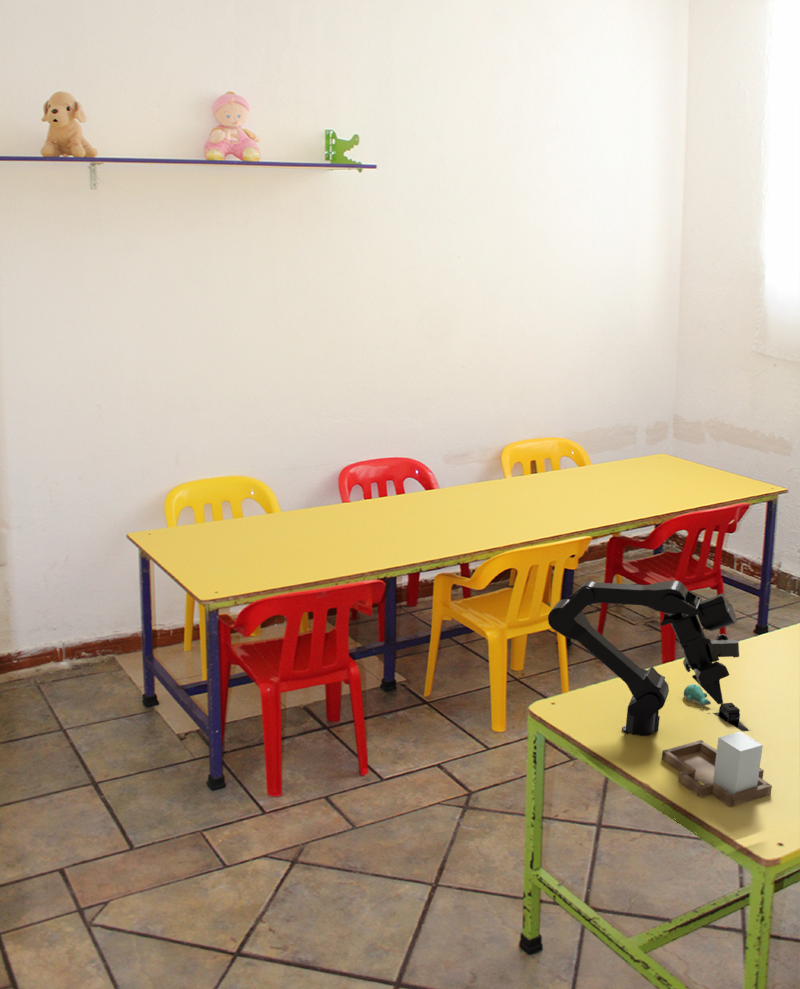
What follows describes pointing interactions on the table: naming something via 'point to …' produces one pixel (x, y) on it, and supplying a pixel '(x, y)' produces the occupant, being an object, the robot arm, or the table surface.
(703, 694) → the whale figurine
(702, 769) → the brown compartment tray
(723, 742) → the block
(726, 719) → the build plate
